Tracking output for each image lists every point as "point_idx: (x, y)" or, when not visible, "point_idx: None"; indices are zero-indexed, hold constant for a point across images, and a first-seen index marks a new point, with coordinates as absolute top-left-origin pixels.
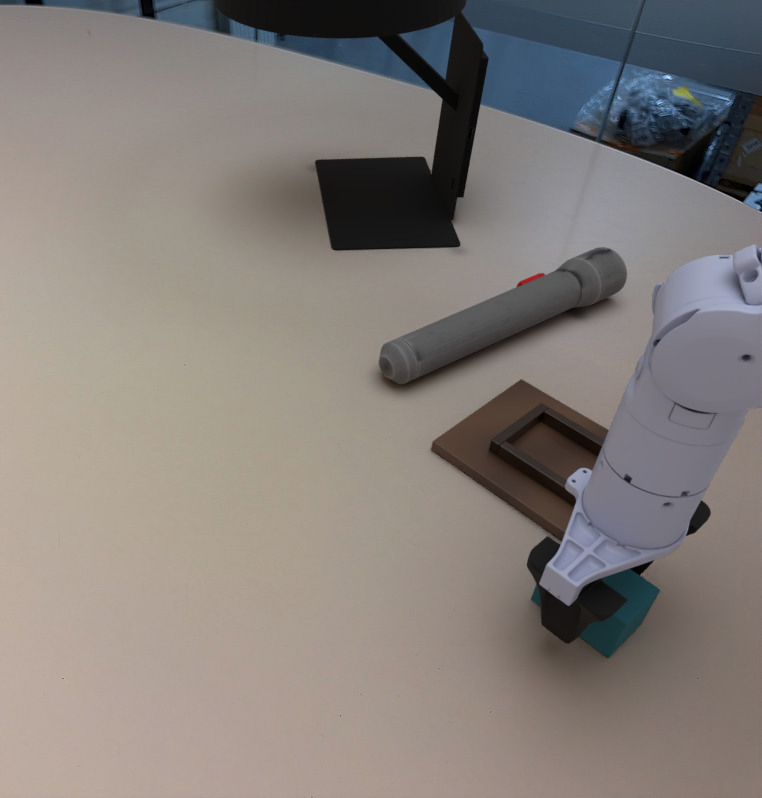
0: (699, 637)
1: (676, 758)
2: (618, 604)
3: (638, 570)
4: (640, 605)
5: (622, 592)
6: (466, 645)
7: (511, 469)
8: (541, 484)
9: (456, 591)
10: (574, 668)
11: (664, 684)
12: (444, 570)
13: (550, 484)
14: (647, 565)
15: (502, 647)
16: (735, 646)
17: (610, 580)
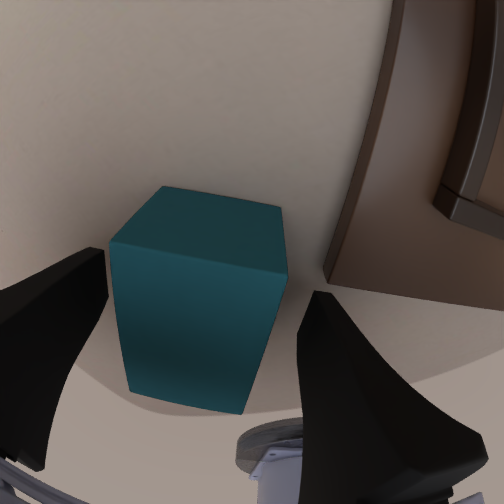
0: (276, 380)
1: (118, 380)
2: (17, 460)
3: (299, 357)
4: (182, 401)
5: (182, 383)
6: (27, 155)
7: (465, 27)
8: (464, 98)
9: (86, 73)
10: (110, 288)
11: None
12: (112, 26)
13: (470, 118)
14: (301, 382)
15: (58, 196)
16: (288, 400)
17: (192, 365)
